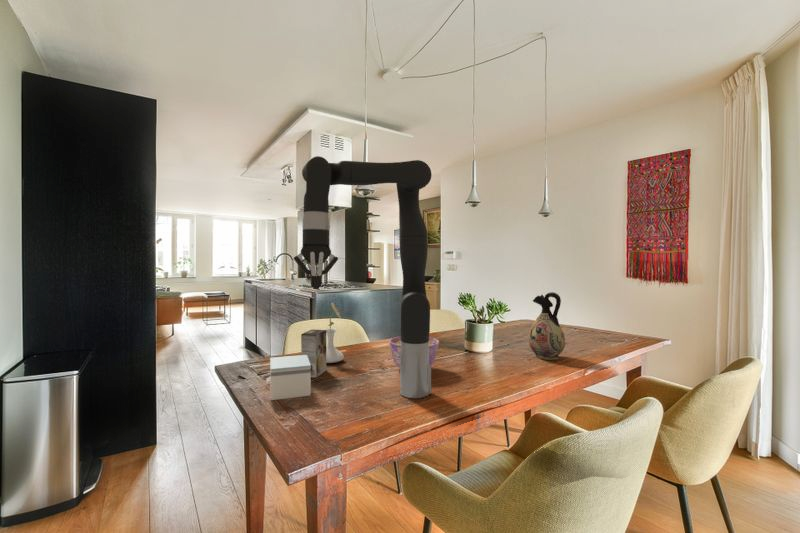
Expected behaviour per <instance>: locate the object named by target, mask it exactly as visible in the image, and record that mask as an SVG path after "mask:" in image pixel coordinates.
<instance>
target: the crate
mask: <svg viewBox="0 0 800 533" xmlns="http://www.w3.org/2000/svg"><path fill="white" fill-rule="evenodd" d="M269 374H270V375H269V376H270V378H269V392H270V393H269V396H270V401H274V400H275V401H276V400H284V399H292V398H301V397H311V389H312V388H311V386H312V385H311V384H312V383H311V378H312V377H311V367H307V368H297V369H286V370H276V371H271V366H270V365H269Z"/></svg>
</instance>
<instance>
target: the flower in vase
mask: <svg viewBox="0 0 800 533" xmlns="http://www.w3.org/2000/svg"><path fill="white" fill-rule="evenodd" d="M330 305H331V307H332V310H333V312H332V314H331V315H330V318H329V324H328V326H329V328H325V329H324V330H326V337H327V345H326V364H333V363H339V362H341V361H343V360H344V358H345V356H344V354H343V353H342V352H341V351H340V350H339V349H337V348H336V347H335V345H334V344H335V343H334V337H335V334H336V331H337V330H338V329H337V328H335V327H333V328H331V326H333V325H334V324H335V323H334V322H333V321H332V317H333V315H334V314H335V315H337V317H338V318H339V319H342V316H341V312H339V309H338V307H336V305H335V303H333V302H331V304H330Z"/></svg>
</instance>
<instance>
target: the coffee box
mask: <svg viewBox="0 0 800 533" xmlns="http://www.w3.org/2000/svg"><path fill="white" fill-rule="evenodd" d="M300 339H301V340H300V341H301V342H300V344H301V347H300V348H301V350H300V351H301V352H300V353H301V355H307V356H308V359H309V362H310V365H311V378H318V377H319V376H321V375H322V374H323V373H324V372H326V371H327V363H326V348H327V333H326V330H325V329H310V330H308V331H305V332H303V333H301V338H300Z"/></svg>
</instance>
